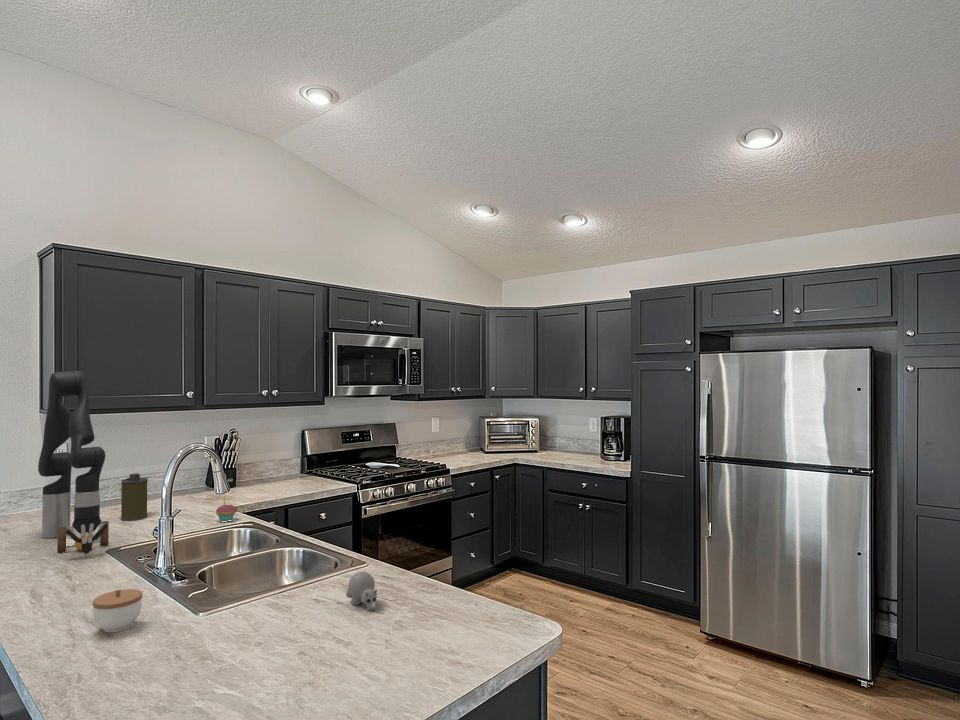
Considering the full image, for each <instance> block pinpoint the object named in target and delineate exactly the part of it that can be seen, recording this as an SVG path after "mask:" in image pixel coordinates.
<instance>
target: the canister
mask: <svg viewBox="0 0 960 720" xmlns="http://www.w3.org/2000/svg"><path fill="white" fill-rule="evenodd" d="M120 482H121V494H120V495H121V496H120V497H121V503H120V504H121V507H120V508H121V515H120V516H121V517H120V520H121V521H122V522H131V521H132V522H134V521H141V520H145V519H147V518H148V477H147V478H146V477H141V473H136V472H134V473H130V474H129V477H127V478H125V479H122V480H121V481H120Z"/></svg>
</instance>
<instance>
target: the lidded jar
mask: <svg viewBox="0 0 960 720" xmlns="http://www.w3.org/2000/svg"><path fill="white" fill-rule="evenodd" d="M142 597H143V591H142V590H140V589H134V588H132V589H131V588H126V589H116V590H113V591H108V592H106V593H103V594H100V595H98V596H96V597H95V598H94V599H93V600H92V613H93V621H94V622H95V624H96V625H97V627H99V629H102V631H103V632H104V633H107V634H109V633H111V634H113V633H118V632H123V631H124V630H127V629H129V628H131V627H132V624H133V623H135V621H136V620H137V619H138V617H139V616H140V613H141V609H142V601H143V600H142V599H143V598H142Z"/></svg>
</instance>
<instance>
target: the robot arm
mask: <svg viewBox="0 0 960 720" xmlns="http://www.w3.org/2000/svg"><path fill="white" fill-rule="evenodd" d="M72 396H73V397H74V396H77V403H76V406H75V408H74V409H73V411H72V412H71V411H70V410H69V409H68V408H67V407H66V405H64V403H63V402H62V400H61V398H62V397H72ZM47 400H48V404H47V409H46V410H47V411H46V415H45V420H44V421H45V422H44V428H43V429H44V430H43V440H42V446H41V451H40V454H39V458H38V465H37V470H38V471H37V472H38V474H39V475H40V476H41V477H44V478H45V477H47V478H49V477H58V476H60V477H59V478H58V479H57V480H56V481H53V482H51V483H48V484H46V485H45V486H43V487H42V499H41V501H42V508H41V509H42V511H41V512H42V513H41V514H42V515H41V516H42V518H41V521H42V522H41V523H42V524H41V526H42V527H41V538H43V539H55V538H54V537H56V538H58V528H59V527H66V530H65V531H66V536H69V537H70V538H72V539H73V540H74V541H75V542H77V543H82V550H81V553H83V554H84V555H87V554H90V552H92V550H93V549H92V548H93V545H92V542H93V541H94V540H97V539H98V538H99V537H100V536H101V534H102V533H103V532H104V531H105V529H106V528H107V527H108V525H107V524H106V523H103V522H102V519H101V516H100V514H101V513H100V511H101V509H100V508H101V496H100V476H101V473H102V469H103V466H104V464H105V460H106V451H105V450H104V449H103V448H102V447H101V446H91V447H84V446H86V445H89V444H91V443H93V442H94V440H95V433H94V428H93V425H92V422H91V421H92V420H91V413H90V402H89V400H90V399H89V390H88V382H87V378H86V375H85V373H84V372H83V371H80V370H72V371H71V370H69V371H67V370H66V371H55V372H53V373H52V374H51V375H50V377H49V382H48V399H47ZM69 439H70V452H68V451H66V452H65V451H64V452H55V451H56V450H57V449H58V448H59V447H60V446H61V447H62V445H64V444H65V443H66V442H67V441H68V440H69ZM72 468H75V469H87V468H90V469H89V470H88V471H87V472H85V473H83V474H80V475H77V476H76V478H75V480H74V481H75V482H74V484H75V487H74V491H75V492H74V493H75V494H74V500H73V501H74V503H73V505H74V506H73V512H74V513H73V521H72V524H71V503H72V502H71V499H72V497H71V495H72V493H71V487H72V485H71V484H72V478H71V477H72ZM98 527H99V529H98ZM74 529H75V530H74ZM97 529H98V530H97ZM96 530H97V531H96ZM75 531H76V532H77V533H78V534H79V535H81V538H78V535H76V534H75ZM95 531H96V533H95V534H94V532H95ZM86 534H88V537H87V542H86ZM93 535H94V536H93ZM92 536H93V537H92Z"/></svg>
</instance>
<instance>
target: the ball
mask: <svg viewBox="0 0 960 720" xmlns="http://www.w3.org/2000/svg"><path fill="white" fill-rule="evenodd" d="M77 537H78V538H81V534H79V535H77ZM87 537H88V533H86V542H87ZM92 537H93V536H92ZM74 544H75V546H74V547H75V548H76V549H77V550H78V551H82V543H77V542H75V543H74ZM94 544H95V543H94V541H93V542H92V546H93V545H94Z"/></svg>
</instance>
